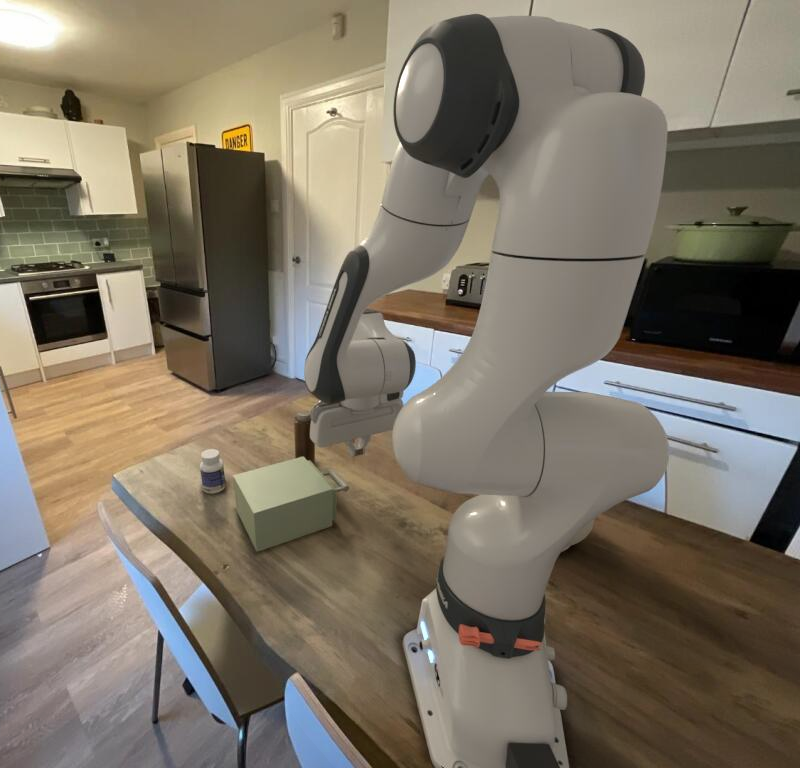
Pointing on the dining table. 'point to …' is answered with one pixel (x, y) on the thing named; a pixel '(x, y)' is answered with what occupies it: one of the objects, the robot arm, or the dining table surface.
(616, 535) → the dining table surface
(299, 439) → the pepper mill
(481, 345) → the robot arm
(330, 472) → the drawer
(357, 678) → the dining table surface
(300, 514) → the cabinet
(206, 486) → the pill bottle
